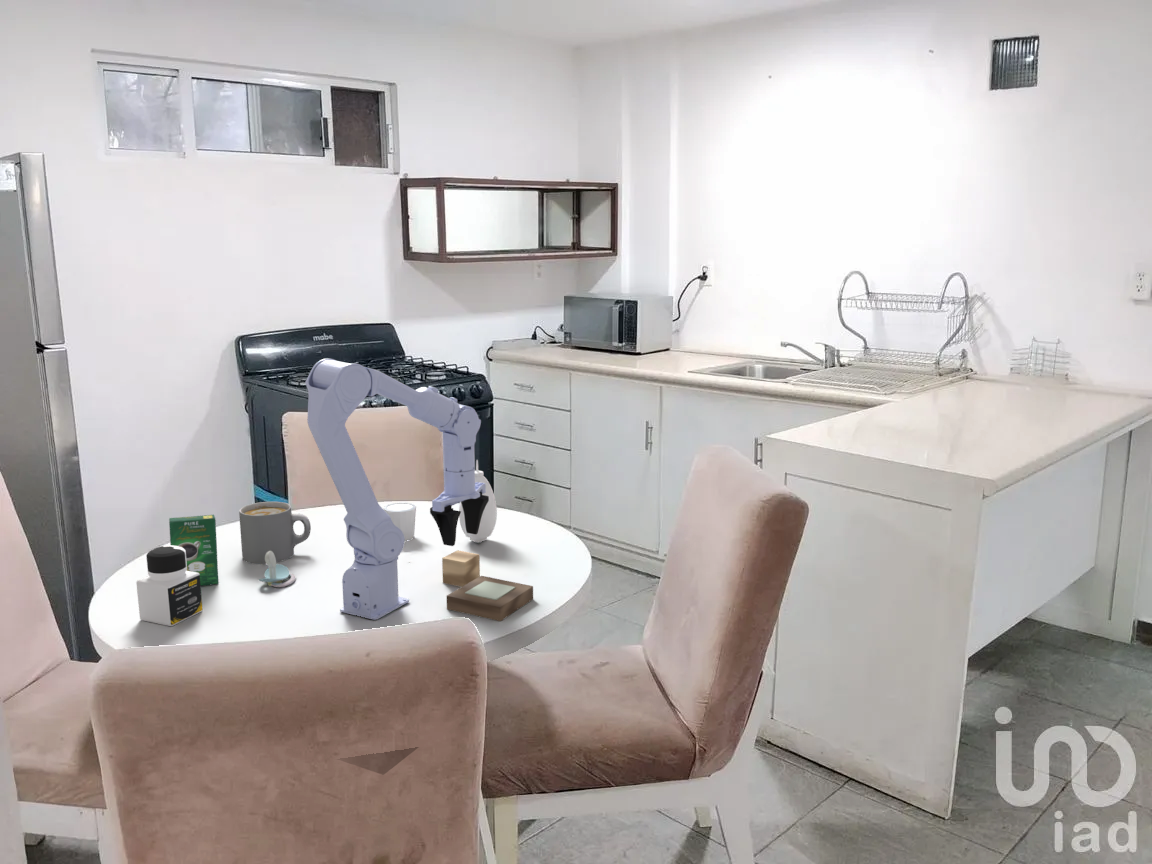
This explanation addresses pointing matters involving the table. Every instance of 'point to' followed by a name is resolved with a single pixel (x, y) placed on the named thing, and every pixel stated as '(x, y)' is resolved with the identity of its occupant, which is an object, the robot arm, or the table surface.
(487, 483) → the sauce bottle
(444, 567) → the oak cube
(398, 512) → the white cup
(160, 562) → the medicine bottle
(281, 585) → the pacifier
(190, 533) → the coffee box
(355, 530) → the robot arm
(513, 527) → the table surface
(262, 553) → the coffee mug
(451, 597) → the walnut base
